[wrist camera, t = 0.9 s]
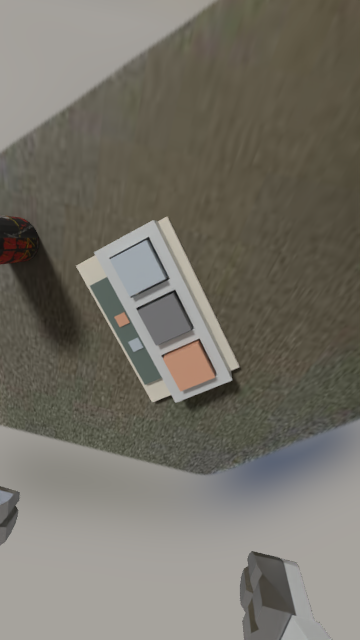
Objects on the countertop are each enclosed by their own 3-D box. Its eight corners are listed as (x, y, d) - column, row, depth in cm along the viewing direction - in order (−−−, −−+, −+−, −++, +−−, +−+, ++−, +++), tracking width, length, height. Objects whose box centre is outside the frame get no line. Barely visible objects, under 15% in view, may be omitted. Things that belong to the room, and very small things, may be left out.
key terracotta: (199, 337, 40) (198, 343, 38) (214, 369, 41) (215, 377, 39) (165, 352, 41) (162, 359, 39) (182, 383, 42) (180, 391, 40)
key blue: (150, 240, 37) (146, 240, 35) (168, 276, 38) (165, 278, 36) (115, 258, 38) (109, 259, 36) (134, 293, 39) (129, 296, 37)
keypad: (168, 217, 39) (163, 214, 35) (238, 364, 43) (241, 376, 39) (79, 265, 42) (65, 267, 38) (153, 398, 46) (148, 413, 42)
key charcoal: (175, 290, 39) (173, 293, 36) (192, 324, 40) (191, 330, 37) (141, 306, 40) (137, 311, 37) (159, 339, 41) (155, 345, 38)
